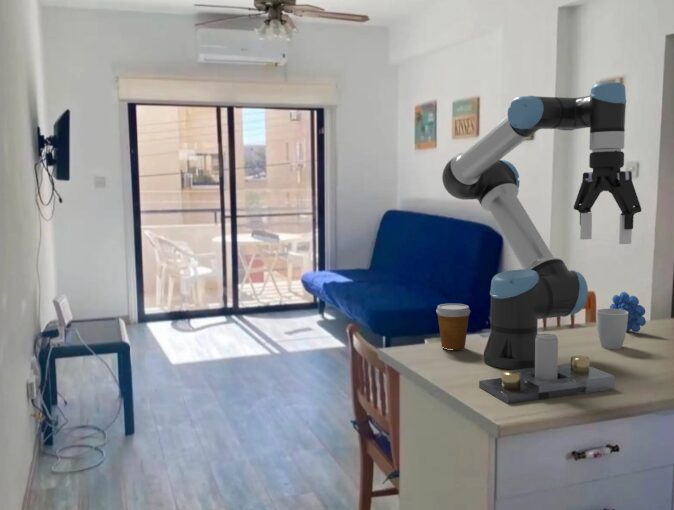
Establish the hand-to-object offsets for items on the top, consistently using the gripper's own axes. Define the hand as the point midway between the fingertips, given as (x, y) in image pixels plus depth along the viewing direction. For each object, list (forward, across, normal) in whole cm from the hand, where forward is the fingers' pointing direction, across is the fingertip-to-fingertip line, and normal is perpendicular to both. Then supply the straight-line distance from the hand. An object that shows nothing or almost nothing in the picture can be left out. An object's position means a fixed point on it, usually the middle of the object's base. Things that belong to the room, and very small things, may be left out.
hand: (604, 241), depth 153 cm
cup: (+32, +18, -18) cm, 41 cm away
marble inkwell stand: (+32, -6, +20) cm, 38 cm away
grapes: (+32, +31, -34) cm, 56 cm away
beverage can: (+32, -6, +20) cm, 38 cm away
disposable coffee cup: (+32, +33, +23) cm, 51 cm away
